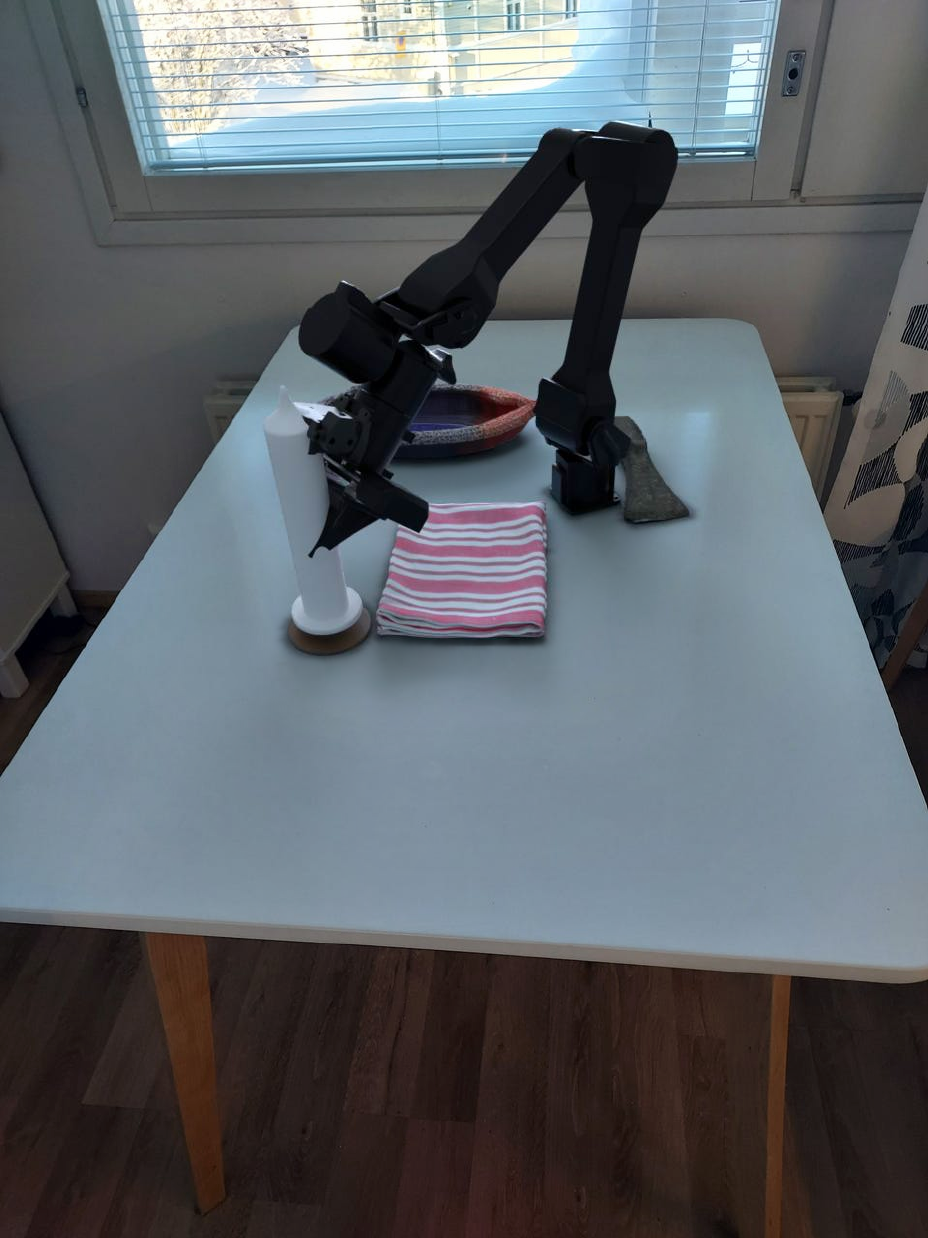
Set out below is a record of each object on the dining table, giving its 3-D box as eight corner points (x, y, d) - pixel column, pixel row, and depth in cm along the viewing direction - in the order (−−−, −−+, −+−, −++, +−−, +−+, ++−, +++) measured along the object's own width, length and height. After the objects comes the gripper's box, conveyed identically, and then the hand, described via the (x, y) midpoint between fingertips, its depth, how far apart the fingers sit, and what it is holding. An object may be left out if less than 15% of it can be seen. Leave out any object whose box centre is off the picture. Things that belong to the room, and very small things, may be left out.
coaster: (358, 593, 98) (357, 590, 98) (382, 640, 92) (381, 637, 92) (280, 614, 96) (279, 611, 96) (299, 664, 90) (298, 661, 89)
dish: (326, 409, 131) (321, 376, 127) (545, 410, 127) (545, 376, 124) (299, 466, 119) (293, 431, 116) (540, 469, 115) (540, 433, 112)
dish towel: (373, 643, 91) (369, 616, 89) (403, 512, 109) (400, 487, 107) (546, 645, 90) (547, 618, 88) (548, 512, 108) (548, 486, 105)
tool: (689, 526, 106) (695, 505, 104) (624, 530, 105) (629, 509, 103) (640, 425, 121) (645, 404, 119) (583, 427, 120) (586, 407, 118)
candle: (311, 583, 97) (264, 361, 80) (373, 595, 95) (338, 370, 78) (280, 628, 92) (223, 401, 75) (344, 641, 90) (301, 412, 73)
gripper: (269, 334, 84) (189, 483, 86) (386, 402, 73) (290, 573, 75) (353, 385, 93) (278, 520, 95) (470, 453, 81) (382, 605, 83)
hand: (303, 551), depth 87 cm, fingers closed on candle, 2 cm apart
